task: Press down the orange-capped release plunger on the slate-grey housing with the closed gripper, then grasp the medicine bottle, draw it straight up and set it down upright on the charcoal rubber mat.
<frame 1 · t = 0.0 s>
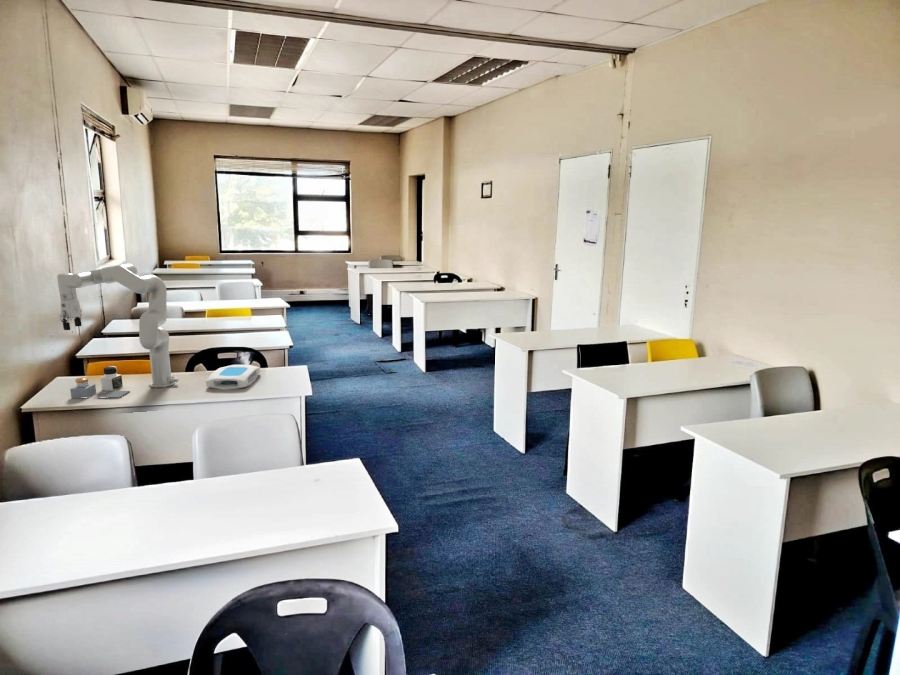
hand: (72, 328, 317), 31 cm above the table, tool pointing down, fingers open, 9 cm apart
release plunger: (82, 385, 304), point 6 cm above the table, slide at 0.0 cm
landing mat: (114, 395, 306), on the table
release housing: (84, 395, 305), on the table
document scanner: (234, 382, 331), on the table
medicine bottle: (112, 388, 317), on the table
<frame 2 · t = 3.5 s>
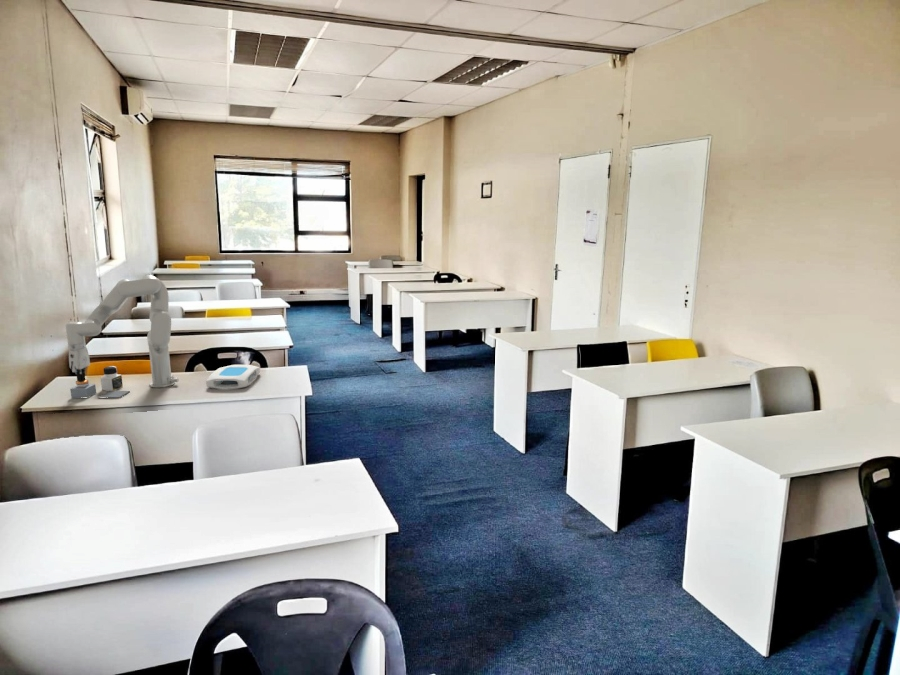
hand: (81, 380, 303), 8 cm above the table, tool pointing down, fingers closed
release plunger: (82, 387, 304), point 5 cm above the table, slide at 1.0 cm, touching gripper
everything else where it was.
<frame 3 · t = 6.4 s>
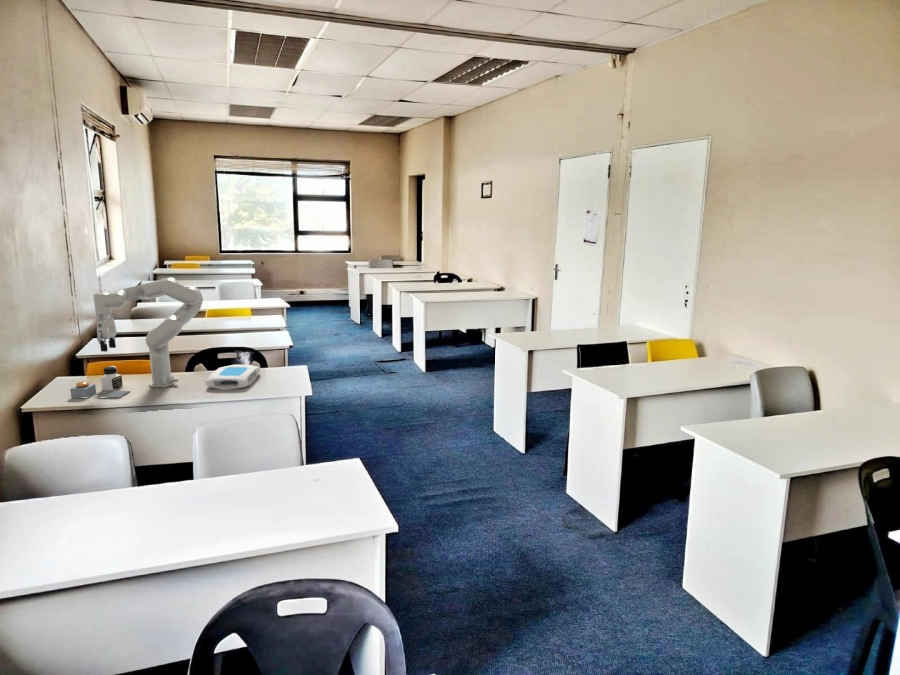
hand: (108, 349, 312), 22 cm above the table, tool pointing down, fingers open, 7 cm apart
release plunger: (83, 389, 304), point 3 cm above the table, slide at 2.3 cm
everything else where it was.
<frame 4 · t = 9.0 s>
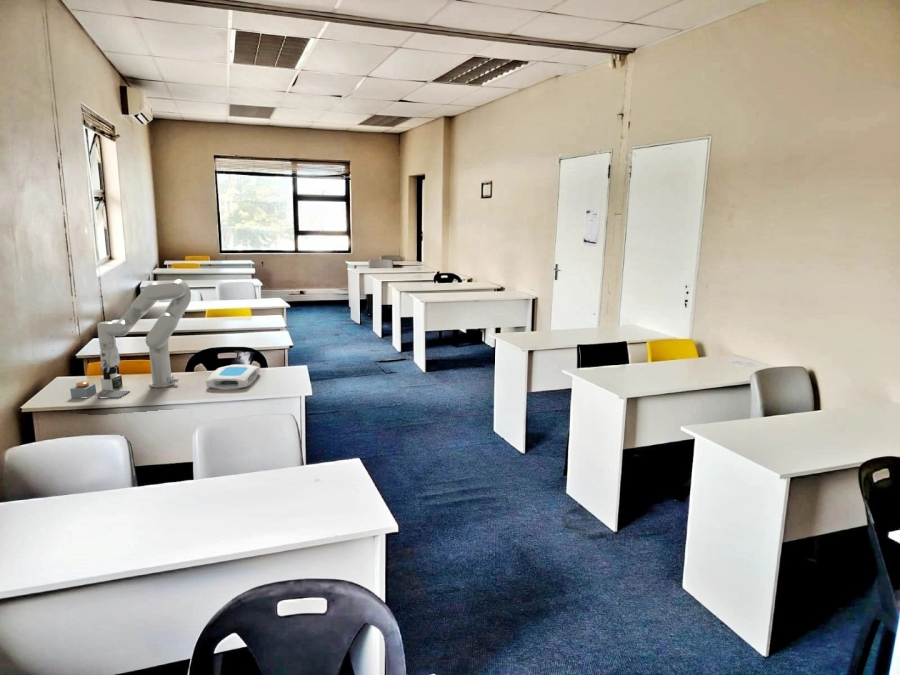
hand: (111, 376, 315), 7 cm above the table, tool pointing down, fingers closed on medicine bottle, 8 cm apart
medicine bottle: (112, 388, 317), on the table, touching gripper
everything else where it was.
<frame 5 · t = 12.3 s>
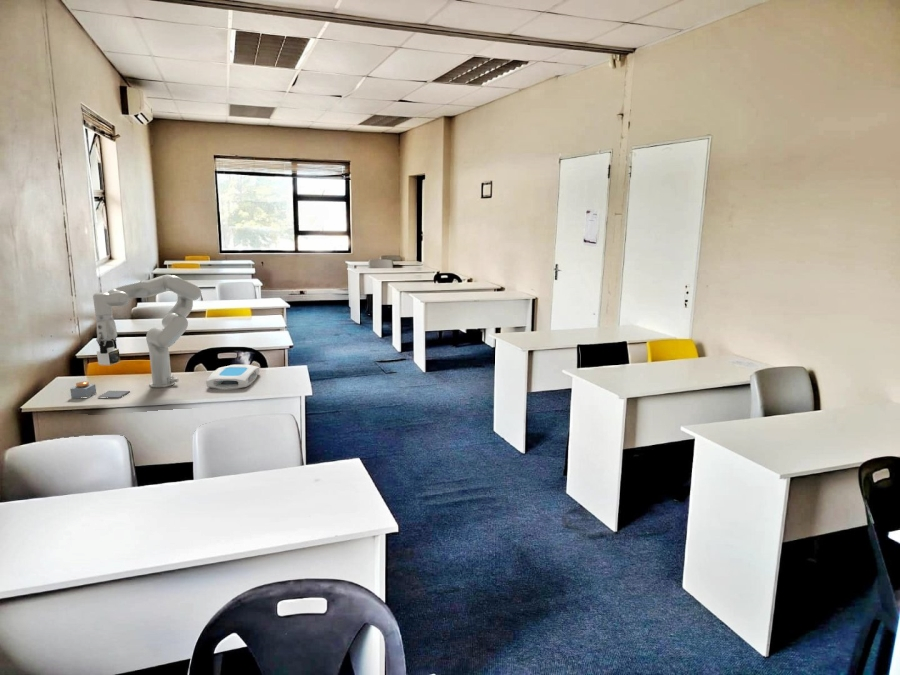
hand: (108, 351, 300), 24 cm above the table, tool pointing down, fingers closed on medicine bottle, 8 cm apart
medicine bottle: (109, 363, 302), point 17 cm above the table, touching gripper
everything else where it was.
when the fingers open (9 cm above the table, at t = 15.7 s): medicine bottle drops 1 cm, resting on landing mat.
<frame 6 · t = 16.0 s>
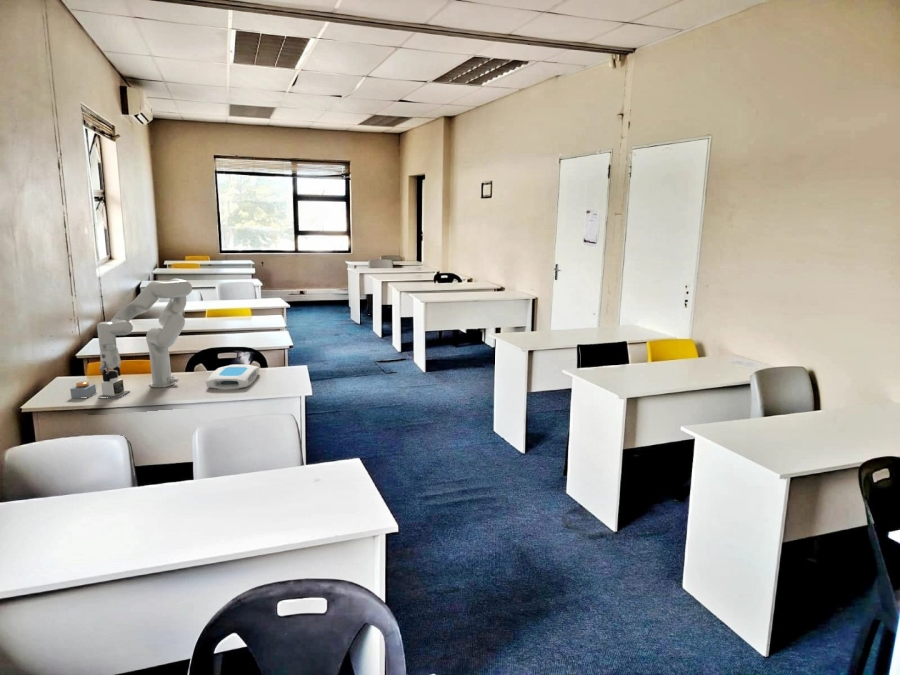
hand: (112, 378, 304), 9 cm above the table, tool pointing down, fingers open, 9 cm apart
medicine bottle: (113, 393, 306), point 1 cm above the table, touching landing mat
everything else where it was.
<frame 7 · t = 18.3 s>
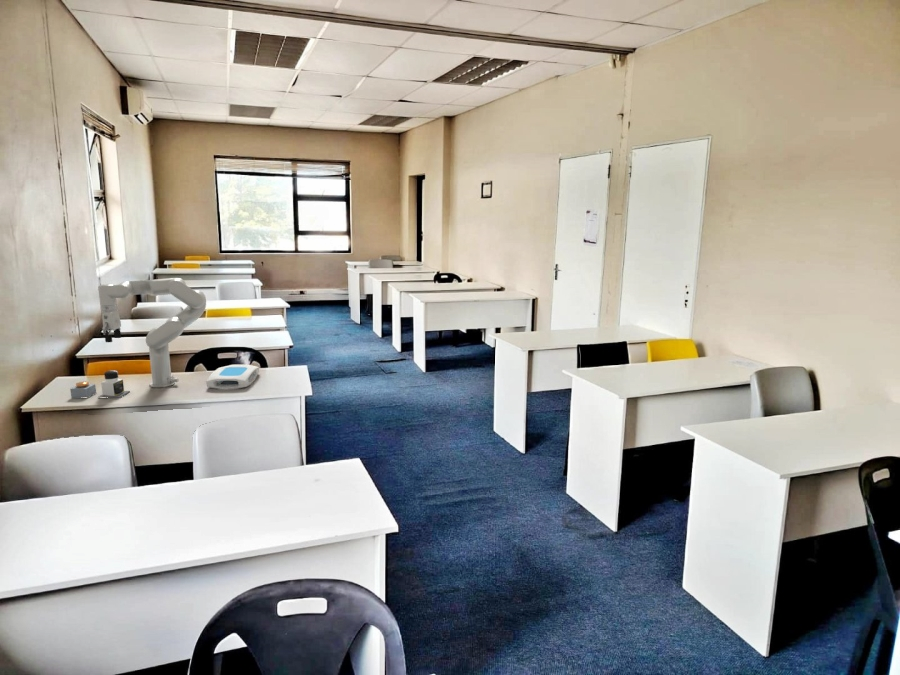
hand: (113, 339, 311), 27 cm above the table, tool pointing down, fingers open, 9 cm apart
nothing on the table moved.
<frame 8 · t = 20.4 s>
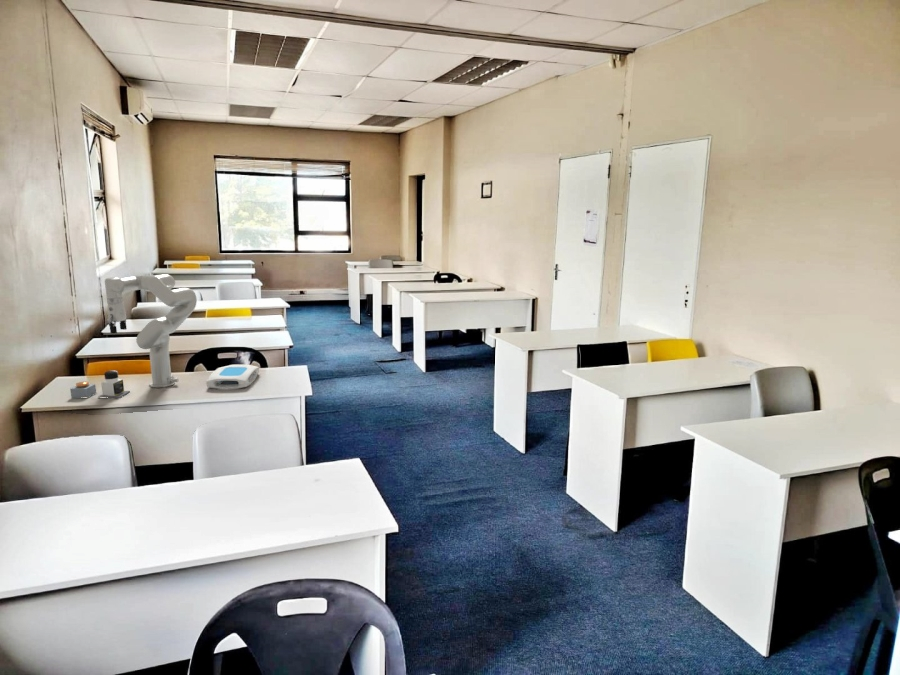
hand: (118, 331, 324), 28 cm above the table, tool pointing down, fingers open, 9 cm apart
nothing on the table moved.
at the end: release plunger slide at 2.3 cm; medicine bottle inside the target area on the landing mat (0.4 cm from its centre), point 0.6 cm above the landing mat's base; medicine bottle tilted 0° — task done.
